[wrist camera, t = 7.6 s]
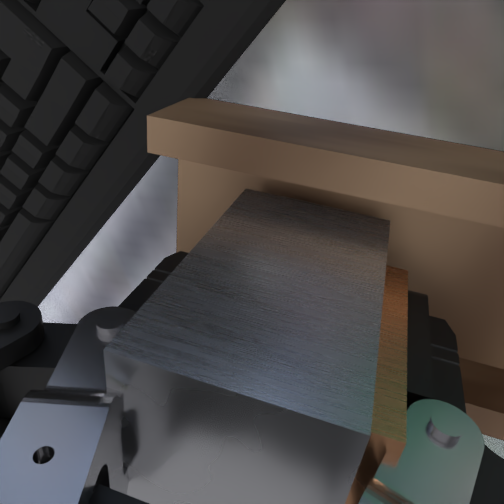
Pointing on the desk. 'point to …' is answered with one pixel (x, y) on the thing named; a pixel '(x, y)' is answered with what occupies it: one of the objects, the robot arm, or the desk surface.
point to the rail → (363, 209)
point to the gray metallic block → (267, 361)
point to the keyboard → (94, 113)
